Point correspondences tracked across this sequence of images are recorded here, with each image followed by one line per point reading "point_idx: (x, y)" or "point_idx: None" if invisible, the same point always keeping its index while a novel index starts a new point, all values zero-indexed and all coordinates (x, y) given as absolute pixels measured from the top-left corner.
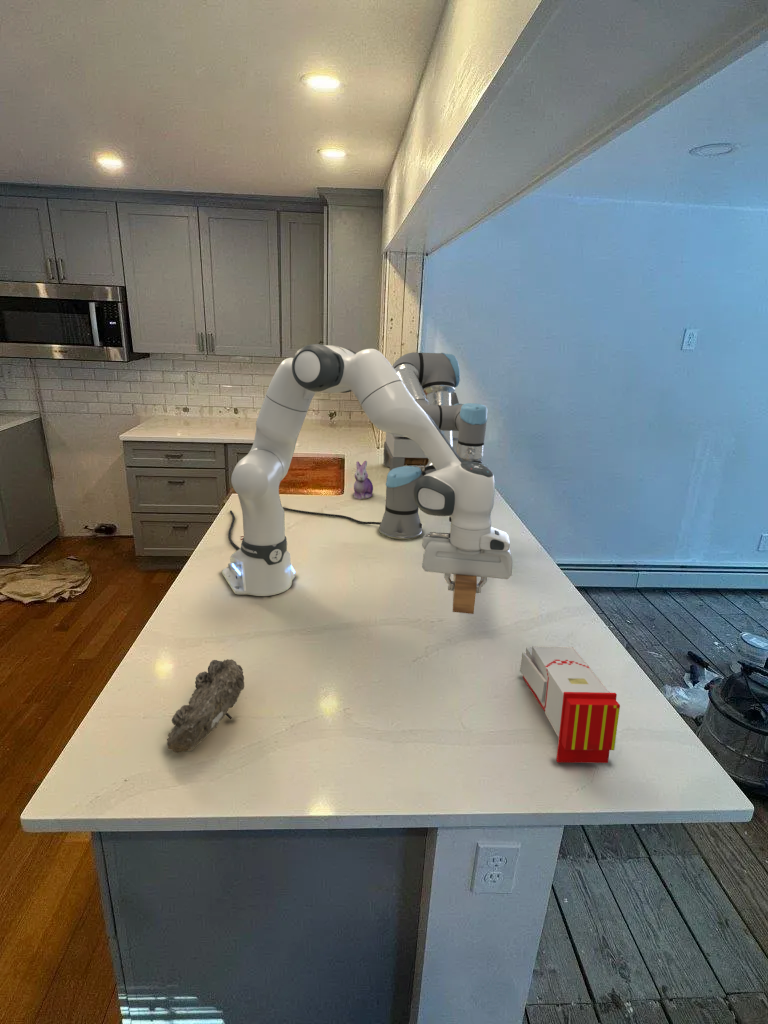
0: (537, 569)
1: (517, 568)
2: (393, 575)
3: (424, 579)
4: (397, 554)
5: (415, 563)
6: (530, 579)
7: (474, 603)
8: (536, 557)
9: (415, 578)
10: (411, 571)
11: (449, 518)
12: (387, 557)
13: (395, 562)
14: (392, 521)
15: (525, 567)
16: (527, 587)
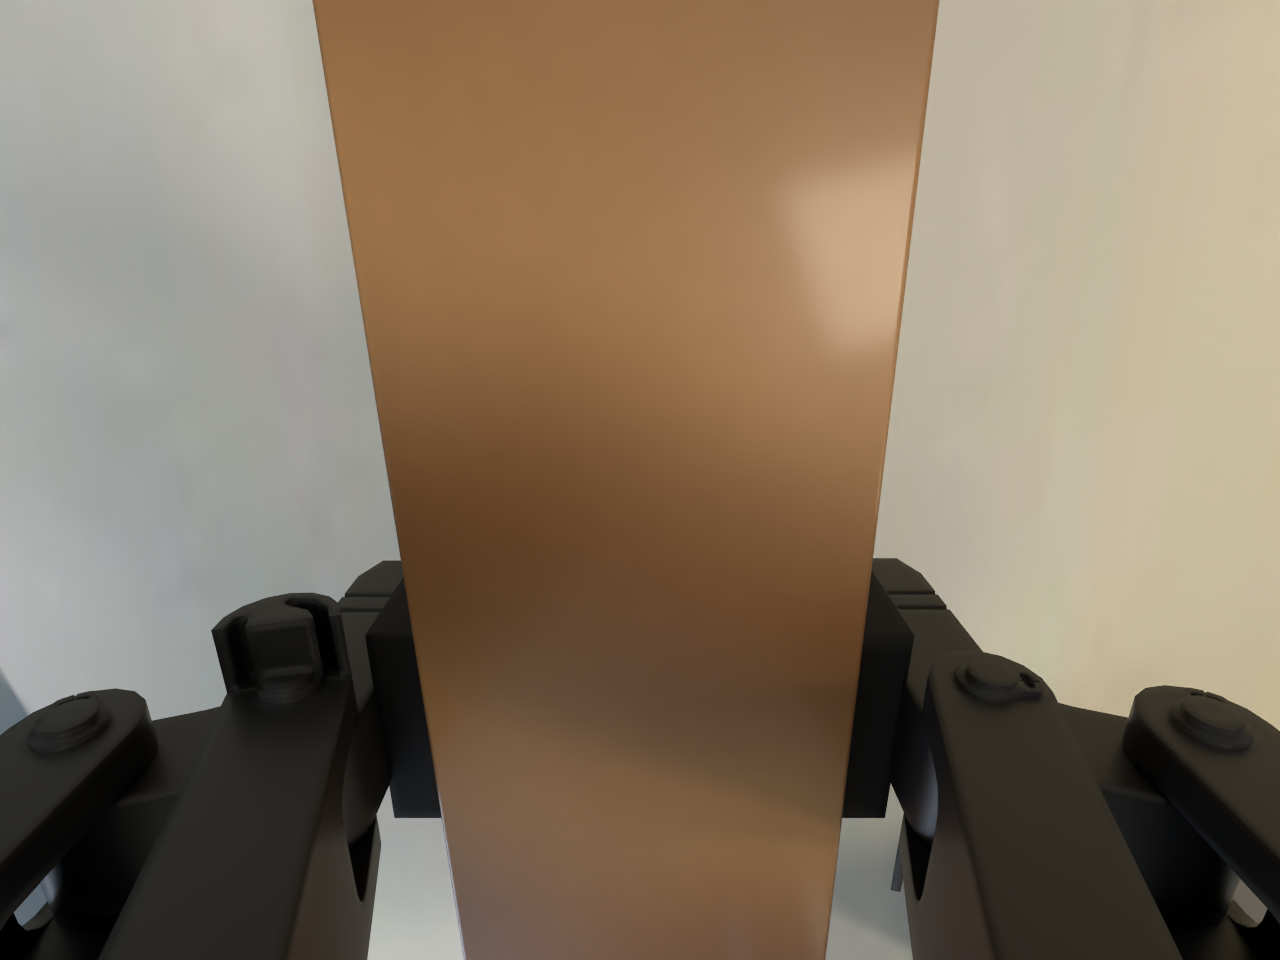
0: (5, 490)
1: (161, 473)
2: (1256, 61)
3: (960, 39)
4: (1146, 516)
5: (1011, 376)
6: (16, 281)
7: None
8: (59, 692)
9: (1046, 42)
10: (1067, 197)
11: (930, 593)
12: (1244, 440)
13: (1189, 357)
14: (1262, 906)
15: (103, 505)
16: (4, 98)
